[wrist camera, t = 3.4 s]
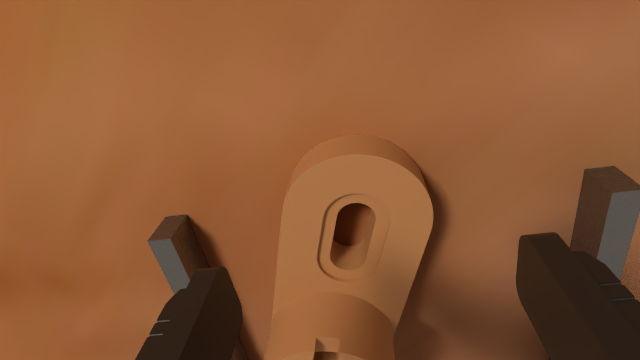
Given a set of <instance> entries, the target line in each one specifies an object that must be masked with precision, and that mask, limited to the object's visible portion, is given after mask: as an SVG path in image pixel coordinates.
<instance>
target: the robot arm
mask: <svg viewBox="0 0 640 360" xmlns="http://www.w3.org/2000/svg"><path fill="white" fill-rule="evenodd" d="M516 286H517V292H518V295H519V299H520V301H521V303H522V306H523V307H524V309H525V311H526V313H527V315H528V317H529V319H530V321H531V322H532V324H533V326H534V328H535V330H536V332H537V334H538V336H539V337H540V339H541V341H542V343H543V345H544V347H545V349H546V351H547V353H548V354H549V356H550V358H551V360H640V302H639V301H638V300H635V299H634V296H633V295H632V293H631V292H630V291H629V290H628V289H627V288H626V287H625V286H624V285H621V281H620V280H619V279H618V278H617V277H616V276H615V274H614V273H613V272H612V271H611V270H610V269H609V268H608V267H607V266H606V264H604V263H603V262H601V261H599V260H598V259H596V258H594V257H593V256H591V255H590V254H588V253H586V252H585V251H583V250H582V251H571V250H570V249H569V247H568V246H567V245H566V244H565V242H564V241H563V240H562V239H561V237H560V236H559V235H558V234H556V233H554V232H550V233H541V234H532V235H523V236H521V237H520V240H519V248H518V261H517V273H516ZM241 324H242V307H241V303H240V301H239V298H238V296H237V293H236V291H235V288H234V286H233V283H232V281H231V278H230V276H229V273H228V271H227V269H226V268H225V267H223V266H221V267H212V268H202V269H197V270H196V271H195V272H194V274H193V276H192V278H191V280H190V282H189V284H188V286H187V288H185V289H180V290H179V291H178V292H177V293H176V294H175V295H174V296H173V297H172V298H171V299H170V300H169V301H168V302H167V303H166V304H165V306H164V308H163V310H162V312H161V314H160V315H159V317H158V319H157V323H155V325H154V326H153V328H152V330H151V332H150V336H149V337H147V339H146V341H145V343H144V345H143V346H142V348H141V350H140V352H139V354H138V355H137V357H136V359H135V360H231V358H232V354H233V351H234V348H235V345H236V341H237V338H238V335H239V331H240V328H241Z"/></svg>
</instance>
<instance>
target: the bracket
mask: <svg viewBox="0 0 640 360" xmlns="http://www.w3.org/2000/svg"><path fill="white" fill-rule="evenodd" d="M351 203H362V204H365V205H367V206H369V207H370V208H371V212H370V216H369V220H368V224H367V228H366V232H365V236H364V238H363V240H362V241H361V242H360V243H358V244H356V245H352V246H345V245H341V244H339V243H337V242H336V241H335V240H334V239H333V235H334V230H335V224H336V219H337V214H338V212H339V211H340V209H341V208H342V207H344V206H345V205H348V204H351ZM432 225H433V207H432V203H431V199H430V196H429V193H428V191H427V188H426V185H425V182H424V179H423V176H422V174H421V171H420V169H419V167H418V166H417V164H416V163H415V161H414V160H413V159H412V158H411V156H410V155H409V154H408V153H407V152H405V151H404V150H403V149H402V148H400V147H399V146H397V145H395V144H394V143H392V142H390V141H387V140H385V139H382V138H379V137H375V136H369V135H358V134H356V135H345V136H339V137H336V138H332V139H329V140H327V141H325V142H323V143H321V144H319V145H317V146H315V147H314V148H312V149H311V150H310V151H309V152H307V153H306V154H305V155H304V156H303V157H302V159H301V160H300V161H299V162H298V164H297V166H296V167H295V169H294V171H293V173H292V176H291V179H290V182H289V186H288V189H287V193H286V196H285V200H284V203H283V209H282V217H281V228H280V238H279V248H278V259H277V269H276V280H275V290H274V300H273V311H272V321H271V328H270V332H269V337H268V341H267V346H266V350H265V355H264V359H263V360H395V352H394V343H393V337H394V335H395V332H396V329H397V326H398V323H399V320H400V318H401V315H402V312H403V309H404V306H405V304H406V301H407V298H408V295H409V292H410V289H411V287H412V284H413V281H414V278H415V275H416V272H417V270H418V267H419V264H420V261H421V258H422V256H423V253H424V250H425V247H426V244H427V241H428V239H429V236H430V233H431V229H432Z"/></svg>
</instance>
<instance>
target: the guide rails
mask: <svg viewBox="0 0 640 360" xmlns="http://www.w3.org/2000/svg"><path fill="white" fill-rule="evenodd" d="M639 211H640V185H639V184H638V183H636V182H635V181H634V180H632V179H631V178H630V177H628V176H627V175H626V174H624V173H623V172H622V171H620V170H619V169H618V168H616V167H615V166H611V167H602V168H594V169H585V171H584V177H583V182H582V187H581V193H580V198H579V203H578V209H577V214H576V219H575V225H574V230H573V235H572V241H571V246H570V250H571V251H582V250H583V251H585V252H586V253H588V254H590V255H591V256H593V257H594V258H596V259H598V260H599V261H601V262H603V263H604V264H606V266H607V267H608V268H609V269H610V270H611V271H612V272H613V273H614V274H615V276H616V277H617V278H618V279H619V280H620V278H621V274H622V271H623V267H624V264H625V260H626V257H627V253H628V250H629V246H630V243H631V239H632V236H633V232H634V229H635V225H636V222H637V218H638V215H639ZM148 243H149V245H150V247H151V249H152V251H153V253H154V255H155V257H156V259H157V261H158V263H159V265H160V267H161V269H162V271H163V273H164V275H165V276H166V278H167V280H168V282H169V284H170V286H171V288H172V290H173V292H174V294H176V293H177V292H178V291H179V290H180V289H185V288H187V286H188V284H189V282H190V280H191V278H192V276H193V274H194V272H195V271H196V270H197V269H202V268H209V266H208V264H207V261H206V259H205V257H204V254H203V252H202V250H201V247H200V245H199V243H198V240H197V238H196V236H195V233H194V231H193V229H192V226H191V224H190V222H189V219H188V217H187V215H180V216H171V217H165V218H164V220H163V221H162V222H161V224H160V225H159V226H158V228H157V229H156V230H155V232H154V233H153V234H152V236H151V237H150V238H149V240H148ZM231 360H248V357H247V355H246V353H245V350H244V348H243V346H242V343H241V341H240V339H239V336H238V338H237V341H236V345H235V348H234V351H233V354H232V358H231ZM549 360H551V358H549Z"/></svg>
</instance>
